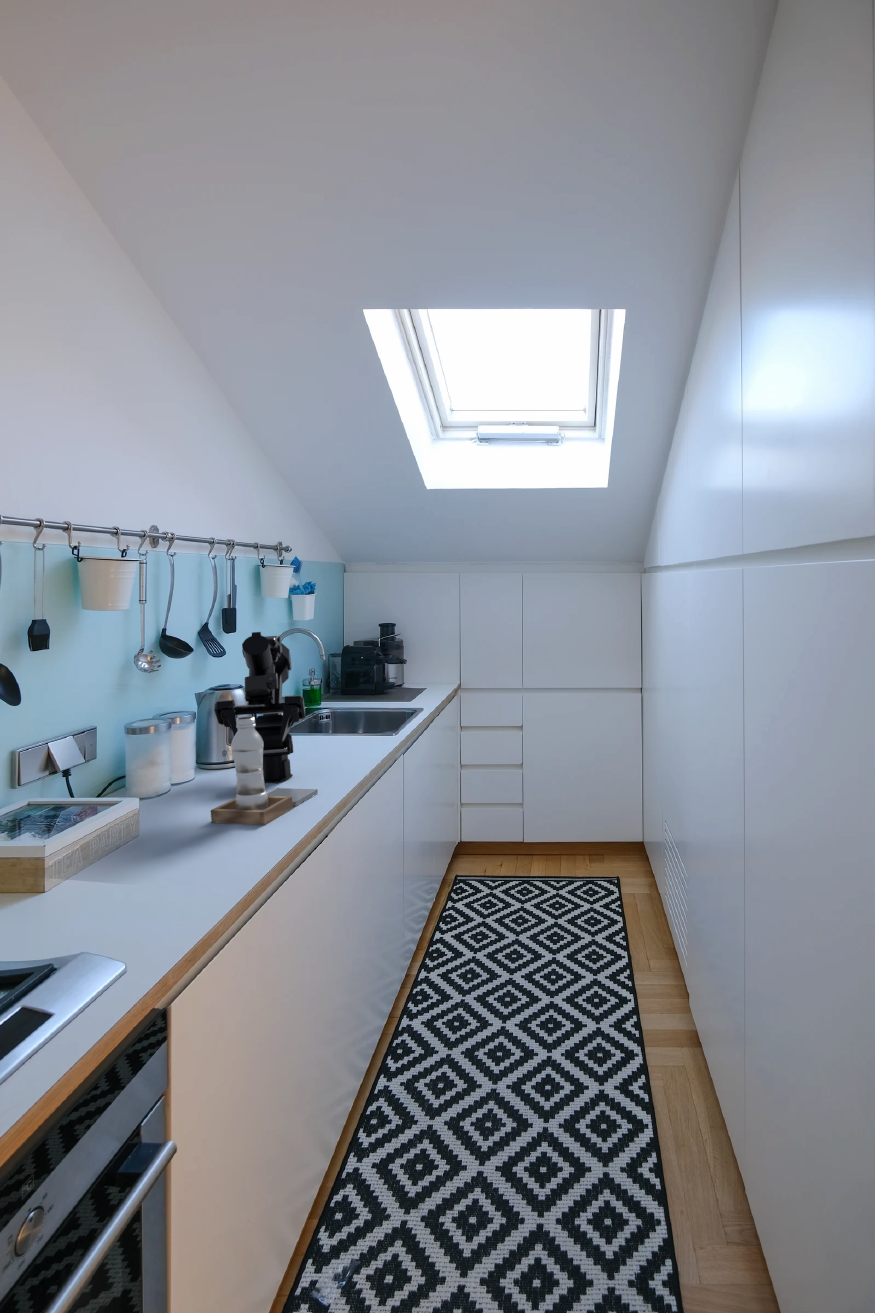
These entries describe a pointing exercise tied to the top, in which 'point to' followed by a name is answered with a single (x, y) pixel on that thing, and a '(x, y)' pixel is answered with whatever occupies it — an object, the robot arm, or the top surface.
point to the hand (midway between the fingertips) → (259, 742)
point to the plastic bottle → (249, 766)
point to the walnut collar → (251, 812)
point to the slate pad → (294, 794)
